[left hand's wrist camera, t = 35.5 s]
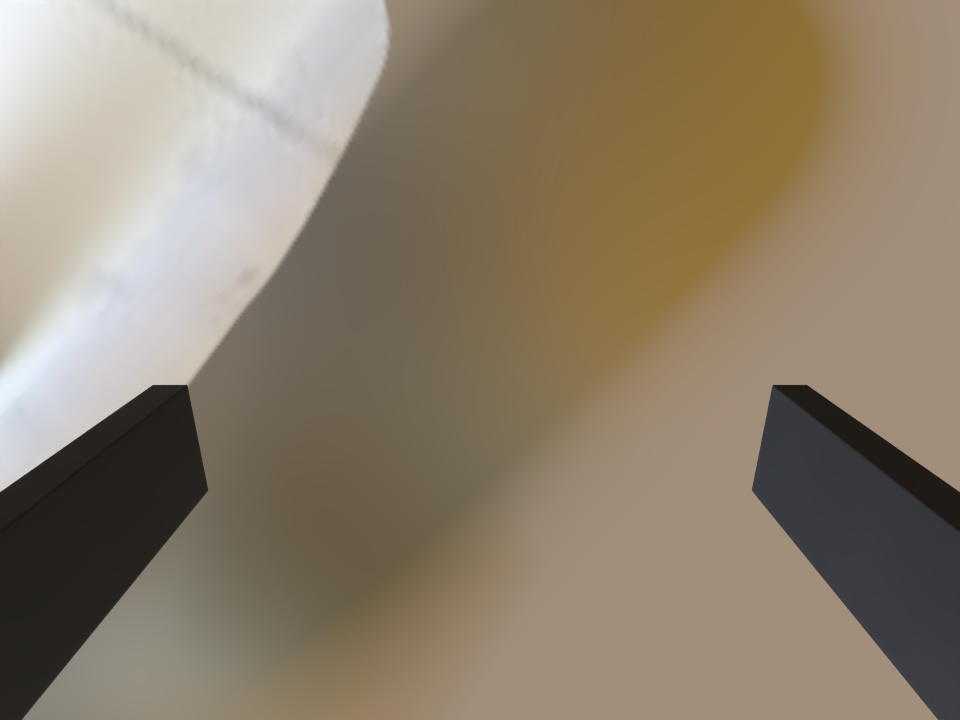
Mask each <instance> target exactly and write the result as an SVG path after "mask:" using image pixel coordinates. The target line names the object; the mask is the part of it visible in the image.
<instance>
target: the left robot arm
mask: <svg viewBox="0 0 960 720" xmlns="http://www.w3.org/2000/svg"><path fill="white" fill-rule="evenodd" d="M207 491H208V487H207V482H206V477H205V472H204V467H203V462H202V457H201V452H200V447H199V442H198V437H197V432H196V427H195V422H194V417H193V412H192V407H191V402H190V396H189V391H188V386H187V385H152V386H151V387H150V388H148V389H147V390H145V391H144V392H142V393H141V394H140V395H138V396H137V397H135V398H134V399H132V400H131V401H130V402H128V403H127V404H125V405H124V406H123V407H121V408H120V409H118V410H117V411H115V412H114V413H113V414H111V415H110V416H108V417H107V418H105V419H104V420H103V421H101V422H100V423H98V424H97V425H95V426H94V427H93V428H91V429H90V430H88V431H87V432H85V433H84V434H83V435H81V436H80V437H78V438H77V439H75V440H74V441H73V442H71V443H70V444H68V445H67V446H65V447H64V448H63V449H61V450H60V451H58V452H57V453H55V454H54V455H53V456H51V457H50V458H48V459H47V460H45V461H44V462H43V463H41V464H40V465H38V466H37V467H35V468H34V469H33V470H31V471H30V472H28V473H27V474H25V475H24V476H23V477H21V478H20V479H18V480H17V481H16V482H14V483H13V484H11V485H10V486H8V487H7V488H6V489H4V490H3V491H1V492H0V720H22V719H23V718H24V716H25V715H26V714H27V713H28V711H29V710H30V709H31V708H32V707H33V705H34V704H35V703H36V702H37V700H38V699H39V698H40V697H41V695H42V694H43V693H44V692H45V691H46V689H47V688H48V687H49V686H50V684H51V683H52V682H53V681H54V679H55V678H56V677H57V676H58V675H59V673H60V672H61V671H62V670H63V668H64V667H65V666H66V665H67V663H68V662H69V661H70V660H71V659H72V657H73V656H74V655H75V654H76V652H77V651H78V650H79V649H80V647H81V646H82V645H83V644H84V642H85V641H86V640H87V639H88V638H89V636H90V635H91V634H92V633H93V631H94V630H95V629H96V628H97V627H98V625H99V624H100V623H101V622H102V620H103V619H104V618H105V617H106V615H107V614H108V613H109V612H110V611H111V609H112V608H113V607H114V606H115V604H116V603H117V602H118V601H119V600H120V598H121V597H122V596H123V595H124V593H125V592H126V591H127V590H128V588H129V587H130V586H131V585H132V584H133V582H134V581H135V580H136V579H137V577H138V576H139V575H140V574H141V572H142V571H143V570H144V569H145V568H146V566H147V565H148V564H149V563H150V561H151V560H152V559H153V558H154V556H155V555H156V554H157V553H158V552H159V550H160V549H161V548H162V547H163V545H164V544H165V543H166V542H167V540H168V539H169V538H170V537H171V535H172V534H173V533H174V532H175V531H176V529H177V528H178V527H179V526H180V524H181V523H182V522H183V521H184V520H185V518H186V517H187V516H188V515H189V513H190V512H191V511H192V510H193V508H194V507H195V506H196V505H197V504H198V502H199V501H200V500H201V499H202V497H203V496H204V495H205V494H206V492H207ZM752 491H753V492H754V494H755V495H756V496H757V497H758V499H759V500H760V501H761V502H762V504H763V505H764V506H765V507H766V508H767V510H768V511H769V512H770V513H771V515H772V516H773V517H774V518H775V520H776V521H777V522H778V523H779V524H780V526H781V527H782V528H783V529H784V531H785V532H786V533H787V534H788V535H789V537H790V538H791V539H792V540H793V542H794V543H795V544H796V545H797V547H798V548H799V549H800V550H801V551H802V553H803V554H804V555H805V556H806V558H807V559H808V560H809V561H810V563H811V564H812V565H813V566H814V567H815V569H816V570H817V571H818V572H819V574H820V575H821V576H822V577H823V579H824V580H825V581H826V582H827V583H828V585H829V586H830V587H831V588H832V590H833V591H834V592H835V593H836V595H837V596H838V597H839V598H840V600H841V601H842V602H843V603H844V604H845V606H846V607H847V608H848V609H849V611H850V612H851V613H852V614H853V615H854V617H855V618H856V619H857V620H858V622H859V623H860V624H861V625H862V627H863V628H864V629H865V630H866V631H867V633H868V634H869V635H870V636H871V638H872V639H873V640H874V641H875V643H876V644H877V645H878V646H879V647H880V649H881V650H882V651H883V652H884V654H885V655H886V656H887V657H888V659H889V660H890V661H891V662H892V663H893V665H894V666H895V667H896V668H897V670H898V671H899V672H900V673H901V675H902V676H903V677H904V678H905V679H906V681H907V682H908V683H909V684H910V686H911V687H912V688H913V689H914V691H915V692H916V693H917V694H918V695H919V697H920V698H921V699H922V700H923V702H924V703H925V704H926V705H927V707H928V708H929V709H930V710H931V711H932V713H933V714H934V715H935V716H936V718H937V719H938V720H960V492H959V491H957V490H956V489H954V488H953V487H952V486H950V485H949V484H947V483H946V482H944V481H943V480H942V479H940V478H939V477H937V476H936V475H934V474H933V473H932V472H930V471H929V470H927V469H926V468H925V467H923V466H922V465H920V464H919V463H917V462H916V461H915V460H913V459H912V458H910V457H909V456H907V455H906V454H905V453H903V452H902V451H900V450H899V449H897V448H896V447H895V446H893V445H892V444H890V443H889V442H887V441H886V440H885V439H883V438H882V437H880V436H879V435H877V434H876V433H874V432H873V431H872V430H870V429H869V428H867V427H866V426H865V425H863V424H862V423H860V422H859V421H857V420H856V419H855V418H853V417H852V416H850V415H849V414H847V413H846V412H845V411H843V410H842V409H840V408H839V407H837V406H836V405H835V404H833V403H832V402H830V401H829V400H827V399H826V398H825V397H823V396H822V395H820V394H819V393H818V392H816V391H815V390H813V389H812V388H810V387H809V386H808V385H773V386H772V391H771V396H770V401H769V407H768V412H767V417H766V422H765V427H764V432H763V437H762V442H761V447H760V452H759V457H758V462H757V467H756V472H755V477H754V482H753V487H752Z"/></svg>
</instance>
